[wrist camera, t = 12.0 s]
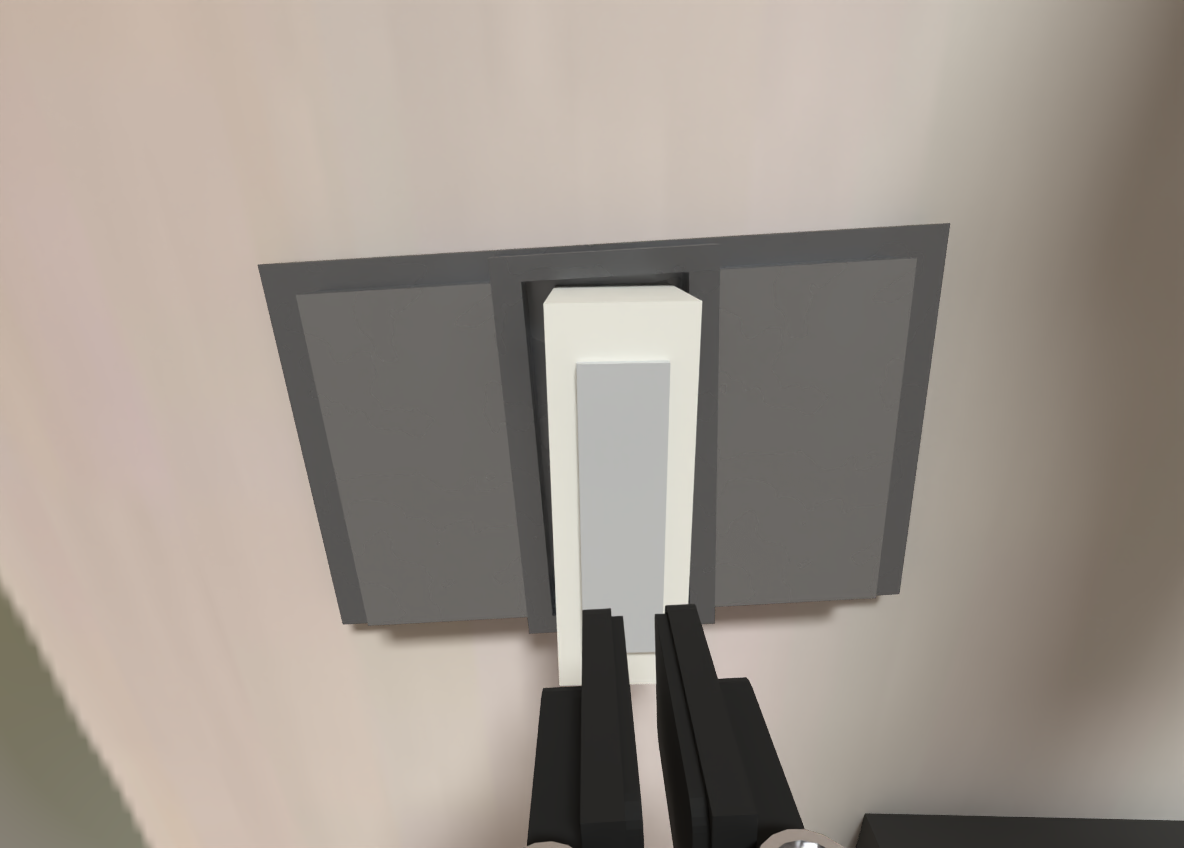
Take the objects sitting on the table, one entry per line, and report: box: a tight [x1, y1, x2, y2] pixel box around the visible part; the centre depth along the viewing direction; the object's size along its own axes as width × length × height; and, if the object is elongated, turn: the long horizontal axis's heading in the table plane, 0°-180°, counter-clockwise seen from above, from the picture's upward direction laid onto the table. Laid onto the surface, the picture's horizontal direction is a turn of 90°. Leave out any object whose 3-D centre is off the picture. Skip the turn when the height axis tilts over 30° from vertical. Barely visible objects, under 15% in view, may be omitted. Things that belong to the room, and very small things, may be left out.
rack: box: [258, 223, 950, 634], centre depth 21 cm, size 24×15×3 cm, turn 93°
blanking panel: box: [543, 283, 702, 686], centre depth 19 cm, size 4×12×6 cm, turn 1°
